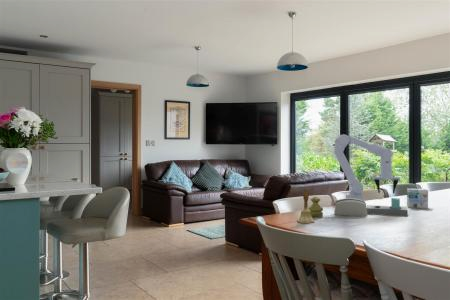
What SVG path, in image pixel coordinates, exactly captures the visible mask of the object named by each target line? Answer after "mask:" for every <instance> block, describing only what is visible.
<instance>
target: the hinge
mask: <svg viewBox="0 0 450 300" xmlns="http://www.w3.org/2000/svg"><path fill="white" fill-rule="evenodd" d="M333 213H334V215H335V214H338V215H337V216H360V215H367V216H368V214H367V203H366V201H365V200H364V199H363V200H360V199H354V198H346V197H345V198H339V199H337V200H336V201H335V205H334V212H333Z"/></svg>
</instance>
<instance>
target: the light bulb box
mask: <svg viewBox="0 0 450 300" xmlns="http://www.w3.org/2000/svg"><path fill="white" fill-rule="evenodd" d="M406 191H407V192H406V207H408V208H412V209H414V208H416V209H417V208H418V209H429V189H427V188H408V187H407V188H406Z"/></svg>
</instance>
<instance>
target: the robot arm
mask: <svg viewBox="0 0 450 300" xmlns="http://www.w3.org/2000/svg"><path fill="white" fill-rule="evenodd" d="M348 145H356V146H359V147H361V148H364V149H366V151H367V152H369V153H370V154H372V155H375V156H378V157H380V176H372V181H374V183H375V184H376V188H377V191H378V194H380V193H381V188H380V181H390V180H391V181H392V193H393V194H395V192H396V188H397V185H398V183H399V182H400V181H401V177H400V176H392V174H393V173H392V168H393V167H392V157H393V155H394V153H393V151H392V149H390V148H386V147H385V146H384V145H379V144H378V142H370V143H368V142H367V141H364V140H361V139H359V138H357V137H354V136H351V135H347V134H340V135H338V136H337V137H336V138H335V141H334V147H333V154H334V155H335V157H336V159H337V162H338V164H339V166H340V167H341V169H342V171H343V173H344V175H345V178H346V179H347V182H348V184H349V190H350V192H349V193H346V195H345V198H354V199H360V200H363V201H364V193H363V191H364V185H363V184H362V183H360V181H359V179H358V178H357V176H356V174H355V173H354V171H353V169H352V167H351V164H350V162H349V161H348V159H347V157H346V155H345V153H344V152H345V148H346V147H347V146H348Z"/></svg>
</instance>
